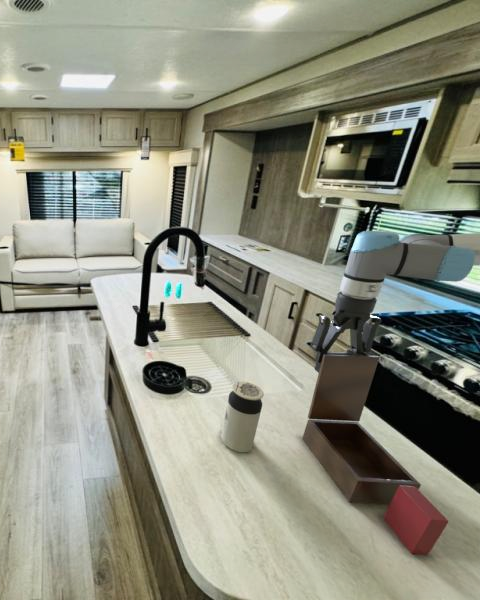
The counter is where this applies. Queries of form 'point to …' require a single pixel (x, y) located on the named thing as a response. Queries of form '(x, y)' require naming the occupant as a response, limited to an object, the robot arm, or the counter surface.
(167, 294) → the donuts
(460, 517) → the counter surface
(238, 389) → the travel mug
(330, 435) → the chest
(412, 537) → the red rectangular brick
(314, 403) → the lid
